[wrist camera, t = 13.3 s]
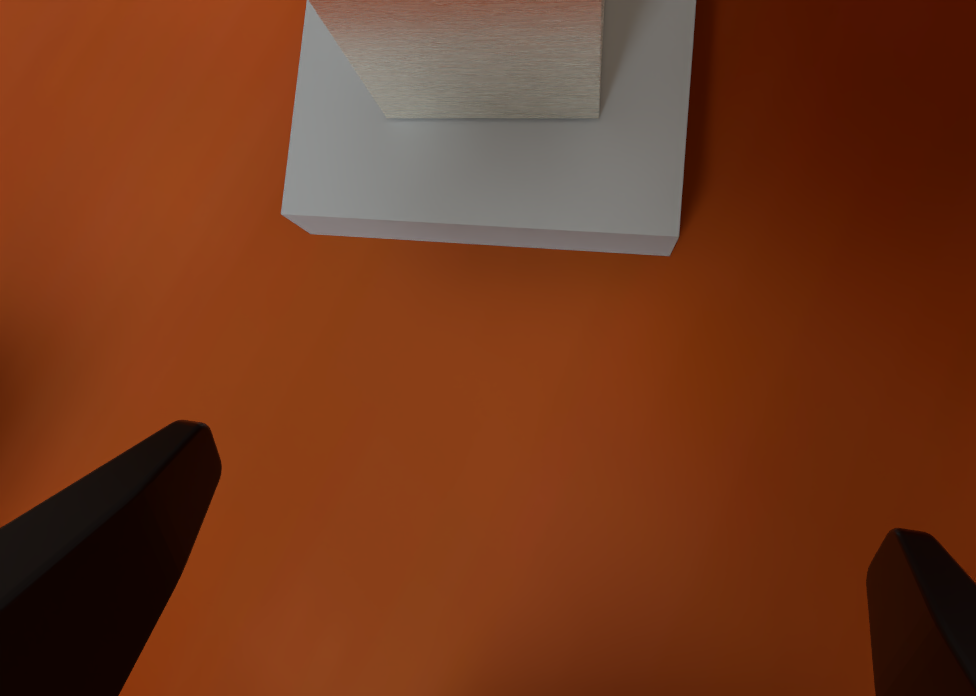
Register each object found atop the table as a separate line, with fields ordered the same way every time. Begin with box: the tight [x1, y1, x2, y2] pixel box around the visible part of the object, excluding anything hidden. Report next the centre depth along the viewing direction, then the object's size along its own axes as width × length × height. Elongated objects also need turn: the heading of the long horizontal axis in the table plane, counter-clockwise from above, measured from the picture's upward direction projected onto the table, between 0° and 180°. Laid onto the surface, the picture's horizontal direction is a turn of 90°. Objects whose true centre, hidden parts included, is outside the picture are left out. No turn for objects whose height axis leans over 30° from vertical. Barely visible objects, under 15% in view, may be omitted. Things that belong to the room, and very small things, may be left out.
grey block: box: [281, 0, 696, 256], centre depth 23 cm, size 12×12×3 cm
